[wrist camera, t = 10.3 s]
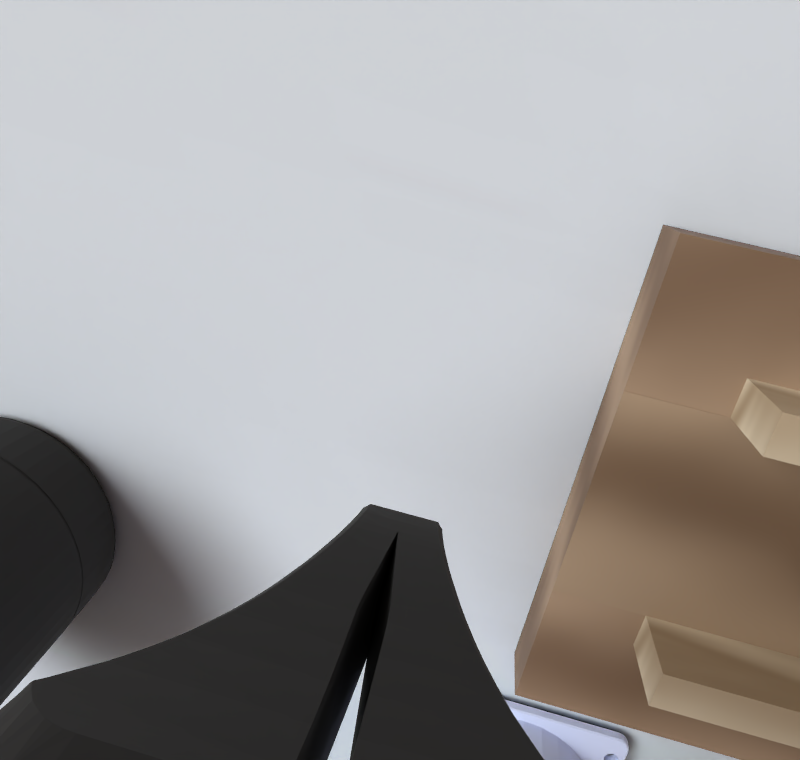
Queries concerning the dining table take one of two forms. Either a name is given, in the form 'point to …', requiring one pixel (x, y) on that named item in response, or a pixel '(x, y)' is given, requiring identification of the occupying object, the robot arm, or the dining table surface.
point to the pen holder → (45, 545)
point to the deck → (686, 516)
